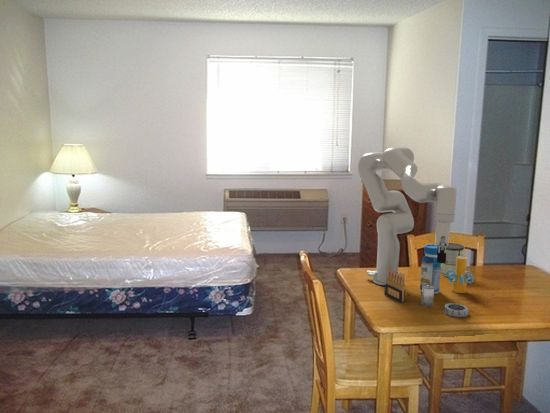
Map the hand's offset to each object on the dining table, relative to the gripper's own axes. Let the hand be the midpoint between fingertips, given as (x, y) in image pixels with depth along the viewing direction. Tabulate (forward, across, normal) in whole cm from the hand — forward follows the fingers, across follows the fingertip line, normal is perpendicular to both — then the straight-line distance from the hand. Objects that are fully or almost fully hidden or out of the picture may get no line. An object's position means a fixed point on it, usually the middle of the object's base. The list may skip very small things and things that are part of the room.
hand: (441, 259), depth 203 cm
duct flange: (+18, +8, +7) cm, 21 cm away
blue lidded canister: (+18, -14, -4) cm, 24 cm away
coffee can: (+18, -43, +6) cm, 47 cm away
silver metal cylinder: (+18, +3, -4) cm, 19 cm away
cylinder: (+18, -19, +9) cm, 28 cm away
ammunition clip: (+18, 0, -17) cm, 25 cm away
